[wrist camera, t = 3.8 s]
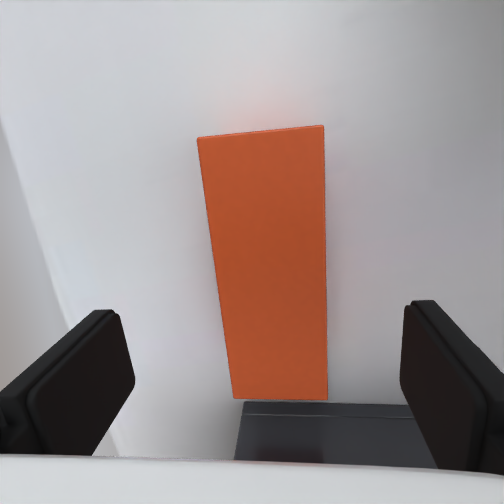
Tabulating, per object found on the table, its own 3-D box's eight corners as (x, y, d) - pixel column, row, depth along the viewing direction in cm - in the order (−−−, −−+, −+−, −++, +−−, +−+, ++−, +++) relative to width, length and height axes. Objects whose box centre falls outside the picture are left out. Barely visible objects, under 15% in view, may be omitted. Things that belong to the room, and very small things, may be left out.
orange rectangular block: (219, 136, 15) (195, 137, 11) (315, 126, 14) (324, 124, 11) (244, 347, 19) (233, 399, 15) (320, 347, 19) (327, 401, 15)
